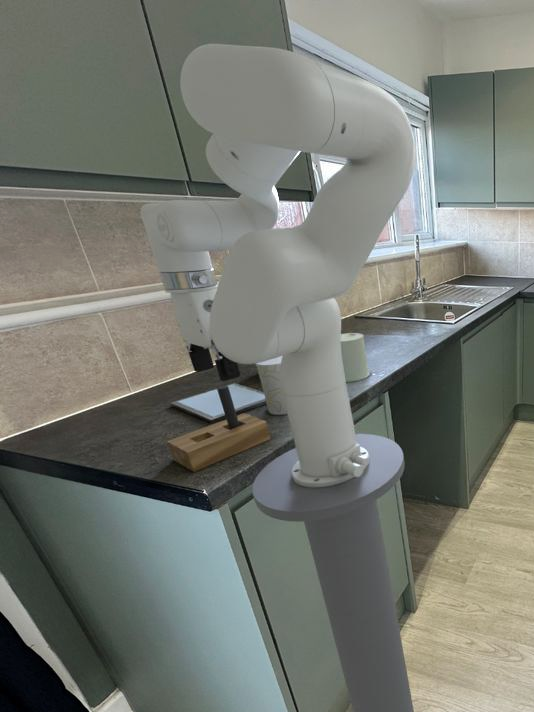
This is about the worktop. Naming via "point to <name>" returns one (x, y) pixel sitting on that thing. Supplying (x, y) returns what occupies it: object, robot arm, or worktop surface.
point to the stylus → (228, 407)
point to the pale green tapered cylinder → (354, 357)
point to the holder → (218, 442)
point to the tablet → (211, 405)
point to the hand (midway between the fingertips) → (217, 374)
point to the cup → (272, 385)
